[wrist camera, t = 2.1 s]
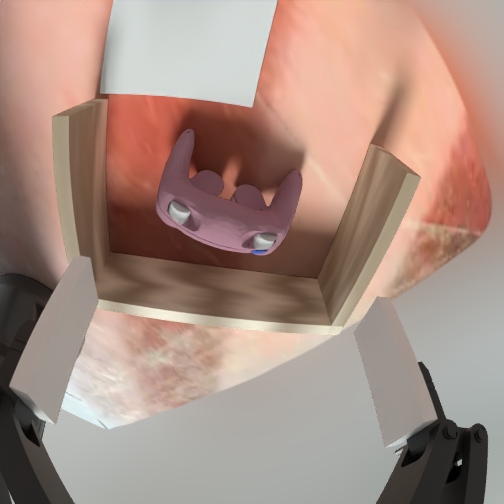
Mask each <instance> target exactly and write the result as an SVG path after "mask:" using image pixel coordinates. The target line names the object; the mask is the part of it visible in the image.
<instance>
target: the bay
mask: <svg viewBox="0 0 504 504" xmlns="http://www.w3.org/2000/svg"><path fill="white" fill-rule="evenodd" d="M107 112H108V99H93V100H90V101H87V102H85V103H82V104H80V105H77V106H75V107H73V108H70V109H68V110H66V111H63V112H61V113H59V114H57V115H54V116H52V131H53V157H54V171H55V182H56V192H57V200H58V208H59V215H60V222H61V228H62V234H63V239H64V244H65V250H66V254H67V259H68V264H69V265H70V263H71V261H72V260H73V258H74V257H75V255H79V256H84V257H90V258H91V264H92V270H93V275H94V281H95V286H96V291H97V295H98V300H99V302H98V305H97V307H96V308H97V309H102V310H108V311H113V312H119V313H124V314H130V315H136V316H142V317H149V318H155V319H162V320H169V321H176V322H183V323H191V324H199V325H208V326H217V327H226V328H236V329H246V330H258V331H271V332H285V333H301V334H322V335H338V334H339V333H340V331H341V330H342V328H343V327H344V325H345V323H346V322H347V320H348V319H349V317H350V315H351V314H352V312H353V310H354V309H355V307H356V305H357V304H358V302H359V300H360V299H361V297H362V295H363V293H364V292H365V290H366V288H367V287H368V285H369V283H370V281H371V279H372V278H373V276H374V274H375V272H376V270H377V269H378V267H379V265H380V263H381V261H382V259H383V257H384V255H385V253H386V252H387V250H388V248H389V246H390V244H391V242H392V240H393V238H394V236H395V234H396V232H397V230H398V228H399V226H400V224H401V221H402V219H403V217H404V215H405V213H406V211H407V209H408V206H409V204H410V202H411V200H412V198H413V195H414V193H415V191H416V188H417V186H418V184H419V181H420V179H421V177H420V176H419V175H418V174H416V173H415V172H414V171H413V170H412V169H410V168H409V167H408V166H407V165H405V164H404V163H403V162H401V161H400V160H399V159H398V158H396V157H395V156H394V155H392V154H391V153H390V152H388V151H387V150H386V149H384V148H383V147H380V146H377V145H374V144H371V143H370V146H369V149H368V151H367V154H366V157H365V160H364V163H363V166H362V168H361V171H360V174H359V177H358V179H357V182H356V185H355V187H354V190H353V193H352V195H351V198H350V201H349V203H348V206H347V208H346V211H345V213H344V216H343V218H342V221H341V223H340V226H339V228H338V231H337V233H336V236H335V238H334V241H333V243H332V245H331V248H330V250H329V252H328V255H327V257H326V259H325V262H324V264H323V266H322V269H321V271H320V273H319V276H318V278H317V279H313V278H305V277H296V276H288V275H279V274H271V273H263V272H255V271H246V270H239V269H231V268H223V267H215V266H208V265H200V264H192V263H185V262H178V261H170V260H163V259H156V258H149V257H142V256H135V255H128V254H121V253H114V252H110V242H109V230H108V216H107V196H106V131H107Z"/></svg>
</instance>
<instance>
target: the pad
mask: <svg viewBox="0 0 504 504" xmlns="http://www.w3.org/2000/svg"><path fill="white" fill-rule="evenodd" d="M277 1H278V0H114V2H113V6H112V11H111V16H110V21H109V26H108V32H107V38H106V44H105V51H104V58H103V66H102V74H101V85H100V94H140V95H157V96H170V97H181V98H191V99H199V100H207V101H215V102H222V103H228V104H234V105H240V106H246V107H252V106H253V102H254V97H255V93H256V88H257V84H258V79H259V75H260V71H261V66H262V62H263V58H264V54H265V49H266V45H267V41H268V37H269V33H270V29H271V25H272V21H273V17H274V13H275V9H276V5H277Z"/></svg>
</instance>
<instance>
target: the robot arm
mask: <svg viewBox="0 0 504 504" xmlns="http://www.w3.org/2000/svg"><path fill="white" fill-rule="evenodd" d="M98 302H99V300H98V295H97V291H96V286H95V281H94V275H93V270H92V264H91V258H90V257H84V256H79V255H75V257H74V258H73V260H72V261H71V263H70V265H69V266H68V268H67V270H66V271H65V273H64V275H63V276H62V278H61V280H60V281H59V283H58V285H57V287H56V288H55V290H54V292H52V291H51V290H50V289H48V288H47V287H45V286H44V285H42V284H40V283H38V282H36V281H35V280H32V279H30V278H28V277H25V276H21V275H16V274H7V275H4V276H2V277H0V504H12V502H11V498H10V495H9V492H10V494H11V496H12V499H13V501H14V503H15V504H75V503H74V502H73V500H72V498H71V497H70V495H69V493H68V492H67V490H66V488H65V486H64V485H63V483H62V481H61V479H60V477H59V476H58V474H57V472H56V470H55V468H54V466H53V464H52V462H51V460H50V458H49V456H48V453H47V451H46V449H45V447H44V445H43V442H42V436H43V431H44V427H45V423H46V421H47V422H49V423H52V424H55V425H56V423H57V419H58V415H59V412H60V408H61V405H62V401H63V398H64V395H65V392H66V388H67V385H68V382H69V379H70V376H71V373H72V370H73V367H74V364H75V361H76V359H77V358H78V357H79V355H80V353H81V350H82V347H83V344H84V341H85V334H86V332H87V329H88V327H89V324H90V322H91V319H92V317H93V314H94V312H95V310H96V307H97V305H98ZM354 335H355V338H356V341H357V345H358V348H359V352H360V355H361V358H362V362H363V365H364V369H365V372H366V376H367V379H368V383H369V386H370V390H371V394H372V398H373V401H374V405H375V409H376V413H377V417H378V421H379V425H380V429H381V434H382V438H383V442H384V447H390V446H394V445H398V444H400V443H402V442H403V441H405V440H407V445H405V446H403V447H401V448H399V449H398V450H396V451H395V453H394V454H395V455H396V454H398V453H400V452H402V453H401V454H400V455H398V457H399V459H398V462H397V464H396V466H395V468H394V470H393V472H392V474H391V476H390V478H389V480H388V482H387V484H386V486H385V488H384V490H383V492H382V494H381V495H380V497H379V499H378V501H377V503H376V504H483V503H484V495H485V486H486V475H487V457H488V435H487V431H486V429H485V427H484V426H483V425H481V424H475V425H473V426H472V427H470V428H461V427H457V425H456V423H454V422H453V421H452V420H448V419H446V417H445V415H444V412H443V409H442V406H441V403H440V400H439V397H438V394H437V392H436V390H435V386H434V384H433V382H432V379H431V376H430V373H429V371H428V369H427V368H426V367H425V365H424V364H423V363H422V362H417V360H416V357H415V355H414V352H413V350H412V347H411V345H410V342H409V340H408V338H407V335H406V333H405V331H404V329H403V326H402V324H401V322H400V319H399V317H398V315H397V313H396V310H395V308H394V306H393V304H392V302H391V300H390V298H387V297H377V298H376V299H375V301H374V303H373V304H372V306H371V307H370V309H369V310H368V312H367V313H366V315H365V317H364V318H363V320H362V321H361V323H360V324H359V326H358V327H357V329H356V330H355V332H354ZM461 459H462V465H460V466H458V465H457V461H459V460H461ZM8 490H9V491H8Z"/></svg>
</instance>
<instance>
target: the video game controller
mask: <svg viewBox="0 0 504 504" xmlns="http://www.w3.org/2000/svg"><path fill="white" fill-rule="evenodd" d="M194 141H195V135H194V131H193V130H192V129H187V130H185V131H184V132H183V133H182V134H181V135H180V137H179V138H178V140H177V141H176V143H175V145H174V147H173V149H172V151H171V154H170V156H169V158H168V160H167V162H166V164H165V167H164V171H163V174H162V178H161V182H160V186H159V190H158V195H157V201H156V211H157V214H158V215H159V217H160V218H161V219H162V221H164V222H165V223H166V224H167V225H169V226H171V227H175V228H177V229H179V230H180V231H181V232H183V233H184V234H186V235H188V236H190V237H191V238H193V239H195V240H197V241H200V242H202V243H204V244H207V245H210V246H213V247H216V248H219V249H223V250H227V251H233V252H240V253H253V254H255V255H267V254H270V253H271V252H273V251H274V250H275V249H276V248H277V247H278V246H279V245H280V244H281V243H282V242H283V241H284V239H285V237H286V234H287V232H288V230H289V228H290V225H291V222H292V220H293V217H294V214H295V211H296V208H297V204H298V201H299V197H300V194H301V189H302V175H301V173H300V171H299V170H293V171H291V172H290V173H289V174H288V175H287V176H286V177H285V178H284V180H283V181H282V183H281V184H280V186H279V188H278V190H277V192H276V193H275V195H274V197H273V200H272V202H271V205H270V206H269V207H268V206H266V204H265V202H264V199H263V196H262V194H261V192H260V191H259V189H257V188H256V187H254V186H252V185H240V186H239V187H238V188H237V189H236V191H235V192H234V194H233V196H232V197H231V201H230V200H227V199H223V198H220V197H219V195H220V194H221V192H222V190H223V188H224V181H223V179H222V178H221V177H220V176H219V175H218V174H217V173H215V172H213V171H209V170H203V171H201V172H199V173H197V174H196V175H195V176H194V177H192V178H190V179H189V165H190V161H191V156H192V152H193V148H194Z"/></svg>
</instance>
